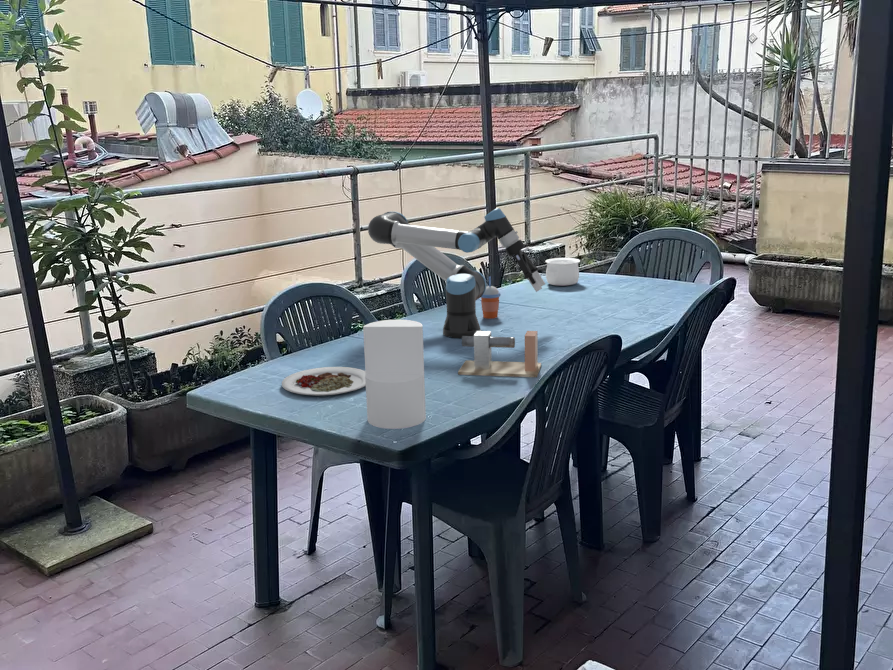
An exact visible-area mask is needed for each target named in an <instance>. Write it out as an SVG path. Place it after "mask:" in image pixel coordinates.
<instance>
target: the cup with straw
mask: <svg viewBox="0 0 893 670" xmlns="http://www.w3.org/2000/svg"><path fill="white" fill-rule="evenodd" d="M491 277H492V276H488V285H487V286H486V290H485V292H484V294H483V295H482V297H481V298H480V302H481V303H480V304H481V311H482V316H483V317H482V318H483V319H488V320H489V319H490V320H492V319H493V320H494V319H496V318H498V315H499V314H498V313H499V309H500V297H501V292H500V291H499V290H498V288H497V287H496V286H493V285H492V278H491Z"/></svg>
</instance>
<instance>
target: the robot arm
mask: <svg viewBox="0 0 893 670" xmlns="http://www.w3.org/2000/svg"><path fill="white" fill-rule="evenodd" d="M484 220H485V221H484V222H483V223H482V224H480V225H478V226H476V228H474V229H472V230H470V231H467V230H458V229H450V228H449V229H448V228H441V227H432V226H431V227H430V226H423V225H412V224H411V223H409V222H408V219H407V217H406V216H404V214H403V213H401V212H398V211H387V212H384V213H382V214H378V215H376V216H374V217H373V218H371V220H370V221H369V223H368V225H367V232H368V235H369V237H370V239H371V240H372V241H373V242H375V243H377V244H382V245H391V246H392V247H393V248H394V249H401V250H404V251H405V252H406V253H407V254H409V255H410V256H411V257H413V259H415V260H416V261H418V262H420V263H421V264H422V265H423V266H424V267H426V268H427V269H429V270H430V271H432V272H433V273H434V274H435V275H437V276H438V277H440V278H441V279H442V280H443V281H444V282H445V290H446V291H445V293H446V295H445V296H446V297H445V298H446V300H445V301H446V316H445V321H444V324H443V327H442V335H444V336H445V337H447V338H448V337H449V338H454V339H455V338H456V339H458V338H459V339H462V336H474V334H475V333H476V332H477V331H481V326H480V324H479V320H478V317H477V312H476V311H477V309H476V301H477V300H479V299H481V297H482V295H483V294H484V292H485V290H486V287H487V286H488V285H487V280H486V277H485V276H484V275H483V274H482V273H481V272H480V271H477V270H472V269H470V268H469V267H468V266H466V265H465V264H458V263H456V262H455V261H454V260H452V259H451V258H450V257H448V256H447V255H446V254H444V253H443V252H442V251H440V250H439V249H438V248H441V249H451V250H459V251H462V252H464V253H472V252H473V253H474V252H475V251H477V250H478V249H481V248H482V247H484V246H485V245H486V244H488V243H489V242H490V241H492V240H493V239H495V238H497V240H498V241H499V243H500V244H501V246H502V248H504V250H505V252H506V254H507V255H508V257H512V256H514V260H516V262H517V264H518V266H519V268H520V270H521V272H522V274H523V275H524V279H525V280H528V282H529V283H530V285H531V287H532V288H533V290H534V291H535V292H536V293H537V292H539V291H541V290H542V289H543V288H542V287H543V286H545V285H546V282H545V280H544V279H543V278H542V276H541V274H540V272H538V270H539V268H538V267H536V266H535V264H534V263H533V262H532V261H531V259H530V258H529V257H528V255H527V254H526V252H525V250H523V249H524V248H526V245H525V244H524V242H523V241H522V239H520V236H519V233H518V231H517V230H515V228H514V227H513V225H512V224H511V222H510V221H509V219H508V218H507V215H505V213H504V212H503V211H502V210H501V208H500V207H496V208H494V209H493V210H491V211H490V212H489V213H487V214H485V216H484Z"/></svg>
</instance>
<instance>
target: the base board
mask: <svg viewBox="0 0 893 670" xmlns="http://www.w3.org/2000/svg"><path fill="white" fill-rule="evenodd" d="M541 368H542V362H538V366H537V369H536V371H525V361H523V362H522V361H497V360H496V361H493V360H492V365H491V366H490V368H489V369H475V368H474V360H470V359H469V360H467V359H466V360H465V361H464V362H463V364H462V365H461V367H460V368H459V369H458V372H457V375H460V376H461V375H463V376H487V377H489V376H490V377H493V376H494V377H513V378H515V377H516V378H538V375H539V373H540V370H541Z"/></svg>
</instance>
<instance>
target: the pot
mask: <svg viewBox="0 0 893 670" xmlns="http://www.w3.org/2000/svg"><path fill="white" fill-rule="evenodd" d="M580 262H581V260H580V259H579V258H573V257H555V258H549V259H546V260H545V263H546V264H547V265H546V269H545V270H546V271H545V279H546V282H547V284H549V285H553V286H572V285H576V284H577V283H578V282H579V278H580V271H579V268H580V267H579V263H580Z"/></svg>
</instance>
